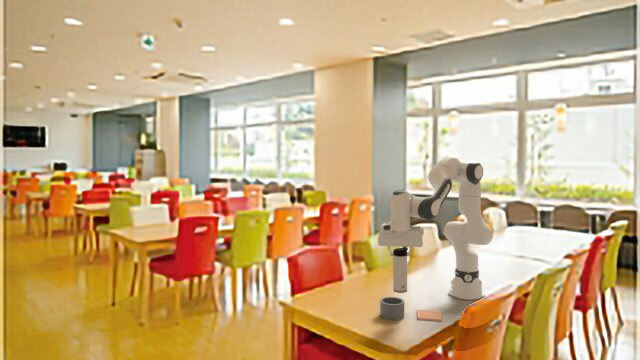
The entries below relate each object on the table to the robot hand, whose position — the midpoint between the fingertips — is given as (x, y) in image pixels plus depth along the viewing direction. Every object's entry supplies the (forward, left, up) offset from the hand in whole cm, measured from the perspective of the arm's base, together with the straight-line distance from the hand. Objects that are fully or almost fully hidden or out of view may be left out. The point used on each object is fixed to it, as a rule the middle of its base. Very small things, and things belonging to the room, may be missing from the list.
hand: (400, 255), depth 209 cm
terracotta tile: (-5, +13, -29) cm, 32 cm away
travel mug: (0, 0, -16) cm, 17 cm away
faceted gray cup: (-3, -4, -29) cm, 29 cm away
